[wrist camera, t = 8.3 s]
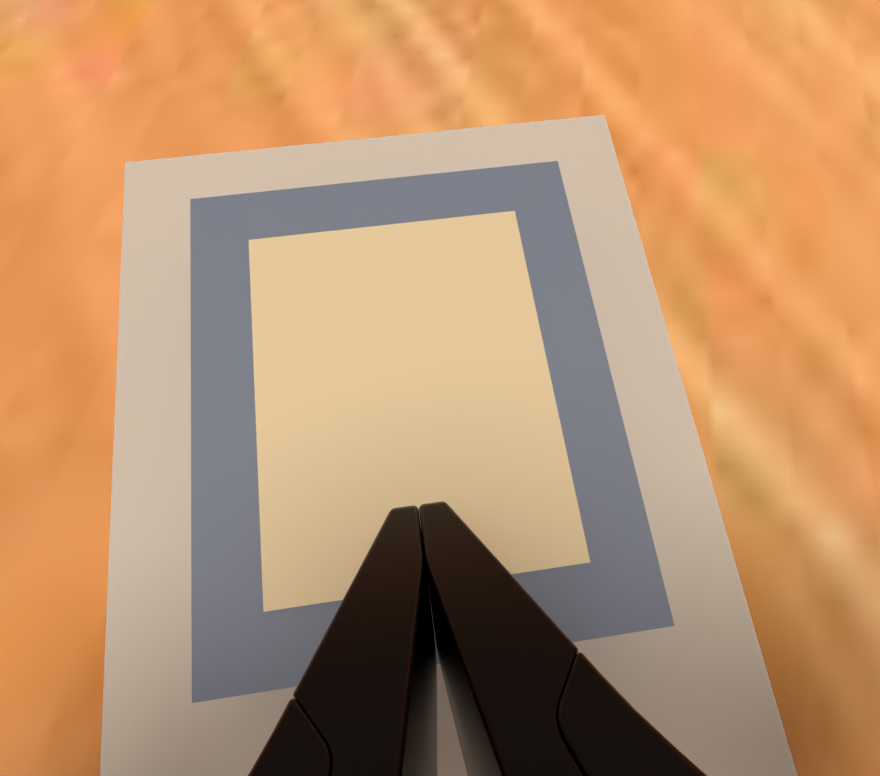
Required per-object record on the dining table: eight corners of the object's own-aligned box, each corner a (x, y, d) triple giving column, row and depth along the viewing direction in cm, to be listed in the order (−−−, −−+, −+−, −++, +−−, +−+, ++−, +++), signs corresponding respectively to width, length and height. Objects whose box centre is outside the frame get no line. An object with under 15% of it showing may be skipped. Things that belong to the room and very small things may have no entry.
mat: (855, 1006, 12) (869, 1021, 11) (94, 1165, 11) (82, 1187, 10) (600, 123, 19) (604, 114, 19) (131, 170, 18) (125, 162, 18)
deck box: (676, 626, 11) (558, 159, 15) (190, 704, 11) (189, 197, 14) (634, 615, 14) (540, 213, 17) (232, 679, 13) (222, 248, 17)
